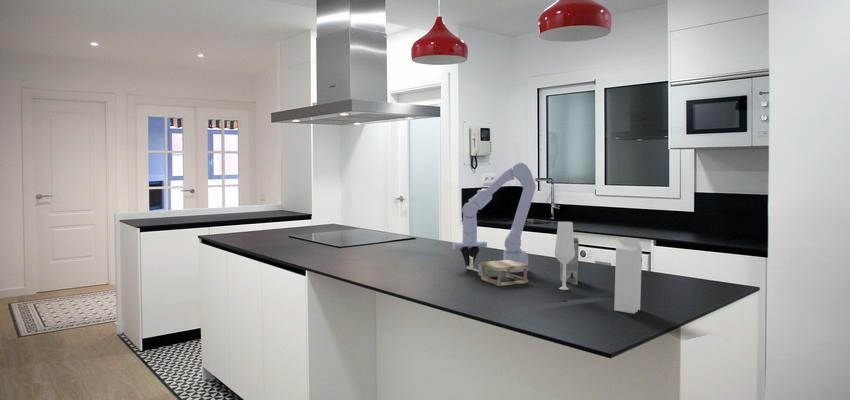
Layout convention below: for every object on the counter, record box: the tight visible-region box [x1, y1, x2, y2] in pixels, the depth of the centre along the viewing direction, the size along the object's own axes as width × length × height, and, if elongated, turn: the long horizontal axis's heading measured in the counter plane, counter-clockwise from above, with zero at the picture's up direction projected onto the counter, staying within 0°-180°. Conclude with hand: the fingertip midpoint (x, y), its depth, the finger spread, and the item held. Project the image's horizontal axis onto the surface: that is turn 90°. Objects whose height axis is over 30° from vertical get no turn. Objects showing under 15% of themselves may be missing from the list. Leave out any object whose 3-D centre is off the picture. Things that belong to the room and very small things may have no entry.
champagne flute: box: [554, 221, 575, 291], centre depth 195 cm, size 7×7×24 cm
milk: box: [613, 236, 643, 314], centre depth 172 cm, size 6×6×22 cm
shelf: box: [480, 259, 530, 287], centre depth 211 cm, size 13×20×8 cm, turn 26°
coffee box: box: [559, 237, 580, 286], centre depth 211 cm, size 9×6×16 cm
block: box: [466, 256, 498, 278], centre depth 223 cm, size 6×18×5 cm, turn 26°
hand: (469, 265), depth 230 cm, fingers closed on block
